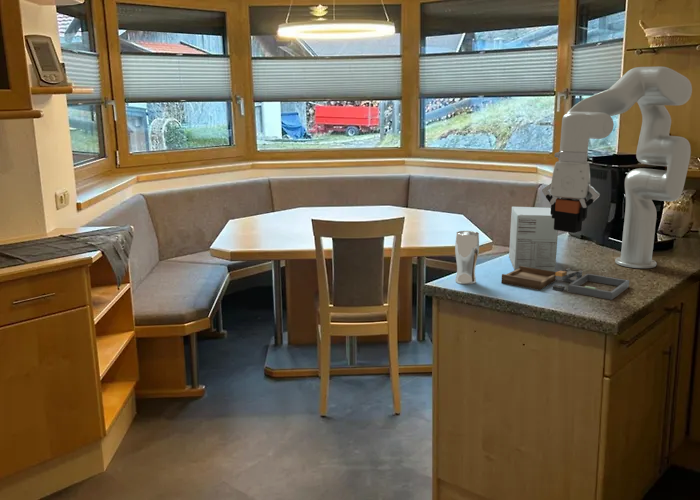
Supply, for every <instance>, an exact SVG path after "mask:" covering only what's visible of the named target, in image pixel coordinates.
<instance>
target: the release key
mask: <svg viewBox="0 0 700 500" xmlns="http://www.w3.org/2000/svg"><path fill="white" fill-rule="evenodd" d="M555 272H556V273H555V275H556V278H555V279H556V280H557V281H563V280H565V279H568V278H571V277H577V272H578V271H576V270H575V271H574V270H570V271H567V272H566V271H565V270H559V271H555Z"/></svg>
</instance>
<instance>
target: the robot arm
mask: <svg viewBox="0 0 700 500" xmlns="http://www.w3.org/2000/svg"><path fill="white" fill-rule="evenodd" d="M692 86H693V85H692V82H691V81H690V79H689V78H688V77H686V76H685V75H683V74H681V73H680V72H678V71H676V70H674V69H673V68H671V67H670V68H669V67H667V66H661V65H660V66H659V65H658V66H638V67H633V68H631V69H629V70H627V71H626V72H625V73H624V74H623V75H622V76H621V77H620V78H619V79H618V80H617V81H616V82H615V83H613V84H612V85H611V86H610V87H609V88H608V89H606V90H603V91H600V92H598V93H595V94H593V95H591V96H588V97H586V98H584V99H582V100H580V101H579V102H577V103H575V104H574V105H573V106H572V107H571V108H570V109H569V110H568V111H567V112H566V113H565V114H564V115H563V116H562V118H561V128H560V129H561V130H560V144H559V150H558V152H555V153H554V158H558V161H556V162H555V164H554V167H553V171H552V178H551V183H549V184H548V185H547V186H545V187H543V188H542V189H541V192H542V193H543V195H544V196H545V198H546V200H547V201H548V202H549V204H550V205H551V206H550V208H551V215H552V218H553V219H554V217H555V204H556V199H559V198H571V199H579V200H580V203H581V205H582V207H581V208H580V215H579V221H580V222H582V223H583V222H584V221H586V219H587V217H588V208H589V207H590V205H592V204H594V202H595V201H596V200H598V199H599V197H600V195H601V194H600V192H598V191H597V190H596V189H595V188H594V187H593V186H592V185H591V169H590V168H591V167H590V163H589V162H588V154H589V153H588V152H589V141H590V139H591V140H602V139H605V138H607V137H608V136H610V135H611V133H613V129H614V120H613V118H612V117H614V116H617V115H622V114H625V113H626V112H628V111H629V110H630V109H631V108H632V107H633V106H634V105H635V104H638V107H639V110H640V112H641V113H640V114H641V117H642V120H641V128H640V132H639V138H638V142H637V147H636V154H635V157H636V159H637V161H638V162H639V163H641V164H644V165H649V166H660V167H666V170H663V169H655V168H654V169H653V168H644V167H643V168H641V167H639V168H635V169H632V170H630V171H628V173H627V174H626V176H625V178H624V193H625V194H624V195H625V209H624V210H625V212H624V220H623V221H624V222H623V231H622V241H621V251H620V256H617V257H615V261H614V262H615V264H617V265H618V266H622V267H626V268H632V269H652V268H653V269H654V268H655V267H657V262H656V260H654V259H653V252H654V251H653V250H654V242H655V236H656V235H655V233H656V225H657V224H656V223H657V208H656V206H655V204H654V202H653V201H660V202H662V201H663V202H669V203H670V202H671V203H673V202H676V201H678V200H679V198H680V197H681V195H683V192H684V188H685V187H684V186H685V183H686V179H687V173H688V169H689V164H690V159H691V154H692V151H691V150H692V148H691V143H690V142H689V140H688V139H687V138H685V137H683V136H676V135H670V132H671V127H672V126H671V125H672V117H671V115H670V112H669V111H668V109H667V108H666V106H682V105H685V104H686V103H687V102H689V100H690V99H691V97H692V95H693V94H692V93H693V87H692ZM590 194H591V197H590V196H589V195H590ZM588 197H590V198H589V199H588Z"/></svg>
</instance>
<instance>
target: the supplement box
mask: <svg viewBox="0 0 700 500" xmlns="http://www.w3.org/2000/svg"><path fill="white" fill-rule="evenodd" d="M510 214H511V215H510V216H511V217H510V231H509V232H510V234H509V249H508V250H509V251H508V252H509V253H508V255H509V256H508V259H509V261H510V263H511V265H512V267H513V271H514V270H516V269H519V266H524V267H530V268H536V269H541V270H547V271H553V272H556V264H557V251H558V250H557V248H558V236H559V231H558V230H554V219H553V218H552V215H551V207H536V206H535V207H534V206H511V213H510Z"/></svg>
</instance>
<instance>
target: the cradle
mask: <svg viewBox="0 0 700 500" xmlns="http://www.w3.org/2000/svg"><path fill="white" fill-rule="evenodd" d="M587 282H593V283H599V284H602V285H603V284H604V285H610V286H616V287H615V288H614V289H612V290H611V291H609V290H604V289H603V290H602V289H598V288H597V287H594V286H589V285H588V286H587V285H585V286H582V285H584V284H586V283H587ZM629 287H630V279H624V278H623V279H622V278H615V277H611V276H604V275H599V274H598V275H597V274H592V273H585V274H584V275H582V277H580V278H579V279H577V280H575V281H574V282H569V284H568V285H567V293H573V294H578V295H583V296H589V297H594V298H599V299H606V300H610V301H612V300H614V299H615V298H616V297H618V296H619V295H620V294H622V293H623V292H624V291H626V290H627V289H628V288H629Z"/></svg>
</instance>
